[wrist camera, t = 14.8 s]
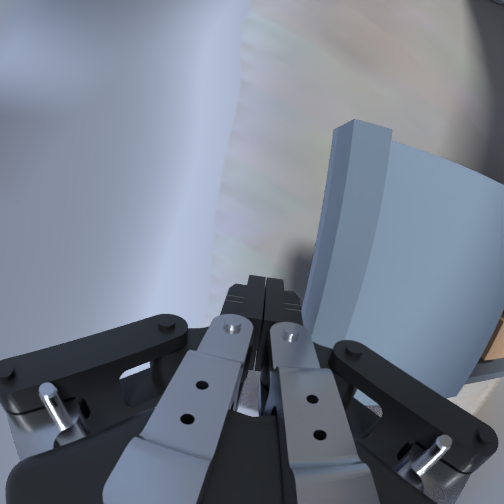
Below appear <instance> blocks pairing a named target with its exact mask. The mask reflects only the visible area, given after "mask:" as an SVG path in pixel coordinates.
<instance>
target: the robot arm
mask: <svg viewBox="0 0 504 504" xmlns="http://www.w3.org/2000/svg"><path fill="white" fill-rule="evenodd" d="M493 1H494V2H496V3H499V4H504V0H493ZM265 279H266V277H261V276H254V275H249V279H248V284H247V285H242V284H235V285H233V286H232V287H230V288H229V291H228V293H227V296H226V299H225V302H224V305H223V308H222V311H221V314H220V315H219V316H217V317H215V318H214V319H213V321H212V322H211V324H210V326H209V327H205V328H191V329H190V328H189V329H188V325H187V323H186V321H185V320H184V319H183V318H181V317H179V316H176V315H172V314H160V315H156V316H153V317H149V318H146V319H143V320H140V321H137V322H133V323H130V324H127V325H124V326H120V327H117V328H114V329H111V330H107V331H104V332H101V333H98V334H94V335H91V336H87V337H84V338H80V339H77V340H73V341H70V342H67V343H63V344H60V345H56V346H52V347H49V348H45V349H42V350H38V351H34V352H30V353H27V354H23V355H19V356H16V357H11V358H8V359H4V360H1V361H0V404H1V406H2V408H3V409H4V411H5V412H6V414H7V417H8V421H9V425H10V429H11V433H12V436H13V440H14V443H15V446H16V449H17V453H18V455H19V458H20V462H19V463H18V464H17V465H16V466H15V467H14V468H13V469H12V471H11V472H10V474H9V476H8V479H7V483H6V504H455V502H456V500H457V499H458V497H459V495H460V493H461V492H462V490H463V488H464V486H465V484H466V483H467V481H468V479H469V477H470V475H471V474H472V473H473V472H474V471H475V470H477V469H478V468H479V467H480V466H481V465H482V464H483V463H484V462H485V461H486V460H488V459H489V458H490V457H491V456H492V455H493V454H494V453H495V452H496V450H497V448H498V437H497V435H496V433H495V431H494V430H493V429H492V428H491V427H490V426H489V425H487V424H485V423H484V422H482V421H481V420H479V419H477V418H476V417H474V416H473V415H471V414H470V413H468V412H466V411H465V410H463V409H462V408H460V407H459V406H457V405H455V404H454V403H452V402H451V401H449V400H448V399H446V398H444V397H443V396H441V395H440V394H438V393H437V392H435V391H434V390H432V389H431V388H429V387H427V386H426V385H424V384H423V383H421V382H420V381H418V380H417V379H415V378H414V377H412V376H411V375H409V374H407V373H406V372H404V371H403V370H401V369H400V368H398V367H397V366H395V365H394V364H392V363H391V362H389V361H388V360H386V359H385V358H383V357H382V356H380V355H379V354H377V353H376V352H374V351H373V350H371V349H370V348H368V347H367V346H365V345H363V344H362V343H360V342H357V341H353V340H341V341H338V342H337V343H336V344H335V345H334V347H333V349H332V348H328V347H325V346H322V345H319V344H317V343H315V342H313V341H312V338H311V334H310V332H309V331H308V330H307V329H306V328H305V327H304V326H303V319H302V313H301V306H300V300H299V297H298V296H297V295H296V294H295V293H294V292H290V291H284V282H283V280H282V279H275V278H268V277H267V280H266V285H265ZM256 351H257V354H256ZM255 357H256V363H255V371H261V376H260V381H259V385H258V402H259V417H251V416H248V415H245V414H242V413H239V412H237V409H238V405H239V402H240V398H241V394H242V390H243V386H244V381H245V379H246V378H247V375H248V370H253V367H254V362H255ZM149 361H150V368H148V369H146V370H143V371H140V372H138V373H135V374H133V375H130V376H128V377H125V378H123V379H120V380H119V378H120V376H121V375H122V373H123V372H124V371H126V370H128V369H131V368H134V367H136V366H139V365H141V364H144V363H147V362H149ZM357 389H359V390H360V391H361V392H363V393H364V394H365V395H367V396H368V397H369V398H371V399H372V400H373V401H375V402H376V403H377V404H378V405H379V406H380V407H381V408H382V411H383V415H382V417H379V416H378V415H376V414H375V413H374V412H372V411H371V410H370V409H368V408H367V407H366V406H364V405H363V404H362V403H361V402H359V401H358V400H357V399H355V398H354V395H355V393H356V391H357ZM155 407H156V408H155Z"/></svg>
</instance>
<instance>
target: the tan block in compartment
mask: <svg viewBox="0 0 504 504" xmlns="http://www.w3.org/2000/svg"><path fill="white" fill-rule="evenodd" d="M481 358H482V359H483V360H492V359H498V358H504V310H503V312H502V315H501V317H500V319H499V321H498V324H497V326H496V328H495V330H494V332H493V334H492V336H491V338H490V340H489V342H488V344H487V346H486V348H485V350H484V352H483V354H482V355H481Z"/></svg>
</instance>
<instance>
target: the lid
mask: <svg viewBox="0 0 504 504" xmlns="http://www.w3.org/2000/svg"><path fill="white" fill-rule="evenodd" d="M391 137H392V129H389V128H386V127H382V126H379V125H375V124H371V123H368V122H364V121H360V120H356V119H354V120H352V121H350V122H348V123H346V124H344V125H342V126H340V127H338V128H336V129H334V131H333V139H332V146H331V154H330V161H329V168H328V175H327V181H326V188H325V194H324V200H323V206H322V212H321V217H320V223H319V228H318V234H317V239H316V244H315V249H314V254H313V259H312V264H311V269H310V274H309V279H308V283H307V288H306V292H305V297H304V301H303V305H302V310H301V313H302V319H303V326H304V327H305V328H306V329H307V330H308V331H309V332H310V334H311V338H312V341H313V342H315V343H317V344H319V345H322V346H325V347H328V348H332V349H333V347H334V345H335V344H336V343H337V342H338V341H341V340H353V341H357V342H360V343H362V344H363V345H365V346H367V347H368V348H370V349H371V350H373V351H374V352H376V353H377V354H379V355H380V356H382V357H383V358H385V359H386V360H388V361H389V362H391V363H392V364H394V365H395V366H397V367H398V368H400V369H401V370H403V371H404V372H406V373H407V374H409V375H411V376H412V377H414V378H415V379H417V380H418V381H420V382H421V383H423V384H424V385H426V386H427V387H429V388H431V389H432V390H434V391H435V392H437V393H438V394H440V395H441V396H443V397H444V398H449V397H455V396H457V394H458V393H459V391H460V390H461V388H462V387H463V385H464V384H465V382H466V381H467V379H468V378H469V376H470V374H471V373H472V371H473V369H474V368H475V366H476V364H477V362H478V361H479V359H480V357H481V355H482V354H483V352H484V350H485V348H486V346H487V344H488V342H489V340H490V338H491V336H492V334H493V332H494V330H495V328H496V326H497V324H498V321H499V319H500V317H501V315H502V312H503V310H504V185H503V184H501V183H499V182H497V181H495V180H493V179H491V178H489V177H486V176H484V175H482V174H480V173H478V172H476V171H473V170H471V169H469V168H466V167H464V166H462V165H459V164H457V163H454V162H452V161H449V160H447V159H444V158H442V157H439V156H436V155H433V154H431V153H428V152H425V151H422V150H419V149H416V148H413V147H410V146H407V145H404V144H401V143H397V142H394V141H391ZM354 398H355V399H357V400H358V401H359V402H361V403H362V404H363V405H364V406H372V405H378V404H377V403H376V402H375V401H373V400H372V399H371V398H369V397H368V396H367V395H365V394H364V393H363V392H361V391H360V390H359V389H357V391H356V393H355V395H354Z"/></svg>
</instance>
